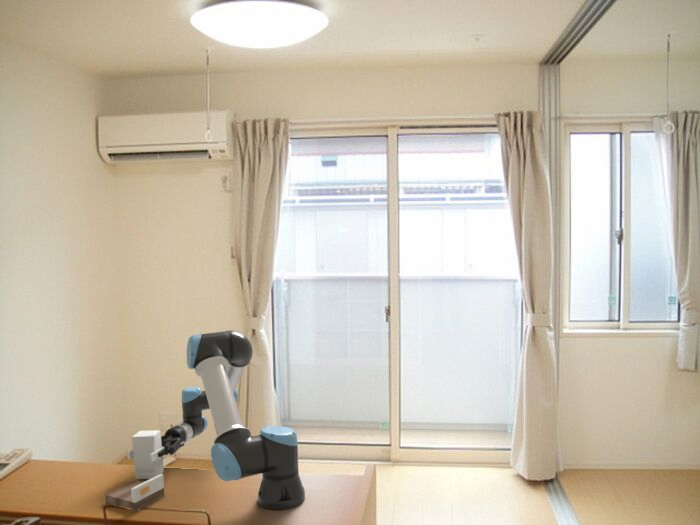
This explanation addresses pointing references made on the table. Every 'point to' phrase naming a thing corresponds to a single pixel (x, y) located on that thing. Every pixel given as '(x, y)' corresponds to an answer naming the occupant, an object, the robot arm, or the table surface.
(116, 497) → the square wooden base
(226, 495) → the table surface
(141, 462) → the skincare box
